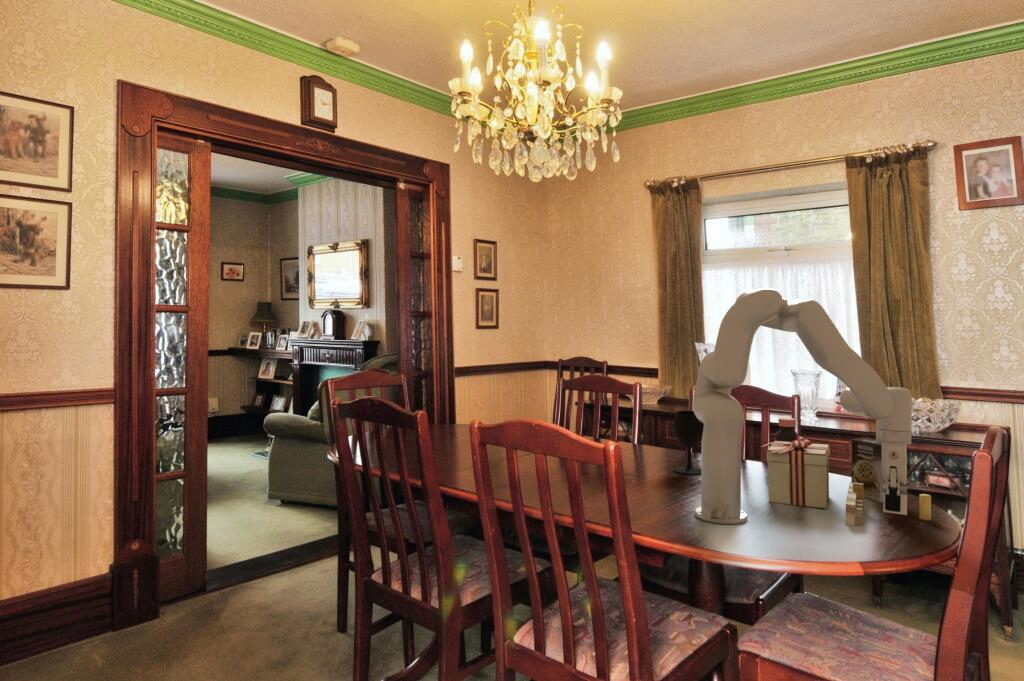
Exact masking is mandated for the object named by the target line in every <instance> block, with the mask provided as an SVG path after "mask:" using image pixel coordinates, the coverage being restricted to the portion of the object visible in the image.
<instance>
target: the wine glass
mask: <svg viewBox="0 0 1024 681" xmlns="http://www.w3.org/2000/svg"><path fill="white" fill-rule="evenodd" d="M672 425H673V432H674V435H675V437H676V439H677V440H678V442H680V443H681V444H682V445H683V446H684V447H686V450H687V465H686V466H678V467H674V468H673V472H674V473H677V474H679V475H684V476H685V475H686V476H700V475H701V474H702V468H699V467H695V466H692V459H691V457H692V449H693V448H694V447H695V446H697V445H698V444H699V443H700V442H702V435H703V429H704V423H702V422H701V421H699V420H698V419H697V417H696V416H695V414H694V411H693V410H678V411H676V412H675V415H674V418H673V424H672Z"/></svg>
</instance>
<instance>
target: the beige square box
mask: <svg viewBox="0 0 1024 681" xmlns="http://www.w3.org/2000/svg"><path fill="white" fill-rule="evenodd" d="M889 486H890V485H889ZM885 494H887V485H883V502H882V505H883V506H882V512H883V513H889V514H896V515H904V516H907V515H908V487H906V486H900V491H899V495H900V496H901V501H900V512H896V511H889V510H886V509H885Z"/></svg>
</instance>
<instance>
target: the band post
mask: <svg viewBox="0 0 1024 681" xmlns="http://www.w3.org/2000/svg"><path fill="white" fill-rule="evenodd" d="M918 505H919V508H918V509H919V514H918V516H919V517H918V519H920V520H924V521H931V520H932V496H931V495H930V494H927V493H919V504H918Z"/></svg>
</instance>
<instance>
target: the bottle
mask: <svg viewBox="0 0 1024 681" xmlns="http://www.w3.org/2000/svg"><path fill="white" fill-rule="evenodd" d="M796 426H797V420H796V418H793V417H779V418H778V428H779V430H778V431H776V433H775V434H774V441H782V442H792V441H796V439H797V436H800V435H799V434H798V432H796V430H795V429H796Z"/></svg>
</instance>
